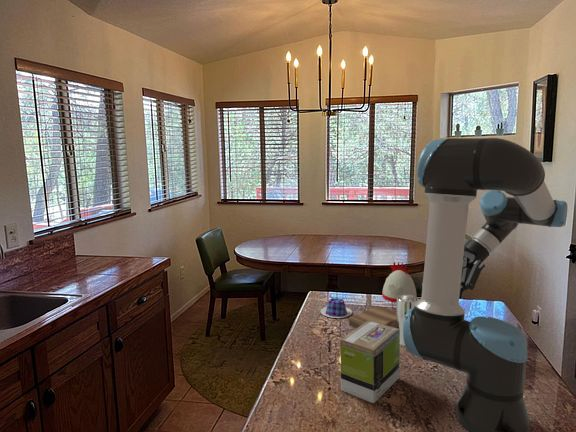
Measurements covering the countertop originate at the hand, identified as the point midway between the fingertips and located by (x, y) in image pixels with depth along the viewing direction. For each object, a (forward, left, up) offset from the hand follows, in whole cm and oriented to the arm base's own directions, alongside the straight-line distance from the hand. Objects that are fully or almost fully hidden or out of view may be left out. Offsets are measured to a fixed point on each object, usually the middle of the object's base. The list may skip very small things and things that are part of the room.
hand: (435, 294), depth 136 cm
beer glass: (-8, +5, -16) cm, 18 cm away
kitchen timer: (+25, +31, -16) cm, 42 cm away
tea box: (-36, -3, -16) cm, 40 cm away
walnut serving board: (-4, +20, -15) cm, 25 cm away
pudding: (-7, +36, -16) cm, 41 cm away
